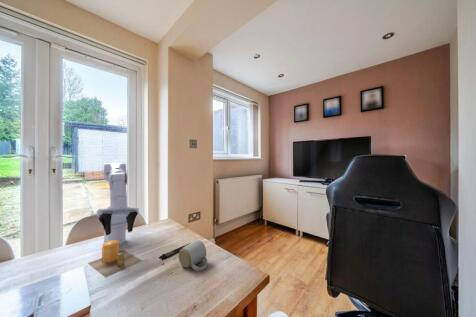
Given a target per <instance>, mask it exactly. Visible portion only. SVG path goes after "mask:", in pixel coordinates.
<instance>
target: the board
mask: <svg viewBox="0 0 476 317" xmlns="http://www.w3.org/2000/svg"><path fill="white" fill-rule="evenodd" d="M140 262H143V260H142V259H141V258H139V257H137V256H135V255H133V254H131V253H130V252H128V251H126V250H124V249H121V250H119V254H118V255H117V259H116V260H114V261H111V262H103V261H102V257H100V258H98V259H95V260H92V261H89V262H88V263H87V264H88V265H89V266H90V267H92V268H93V269H94V270H96V272H98V273H99V274H100V275H101V276H103V277H104V278H105V279H106V278H108V277H110V276H113V275H114V274H117V273H119V272H121V271H123V270H125V269H128V268H129V267H131V266H134V265H136V264H139V263H140Z"/></svg>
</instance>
